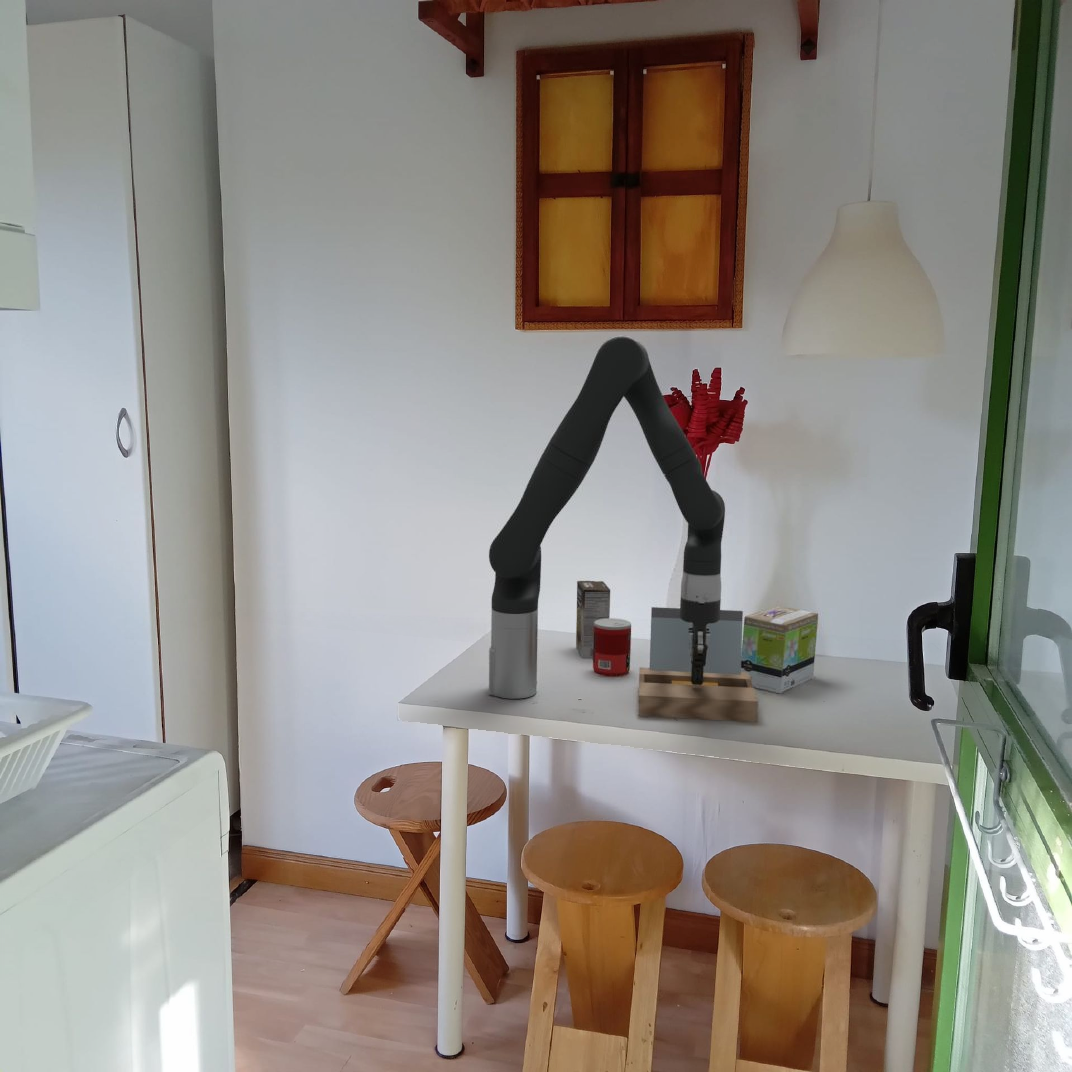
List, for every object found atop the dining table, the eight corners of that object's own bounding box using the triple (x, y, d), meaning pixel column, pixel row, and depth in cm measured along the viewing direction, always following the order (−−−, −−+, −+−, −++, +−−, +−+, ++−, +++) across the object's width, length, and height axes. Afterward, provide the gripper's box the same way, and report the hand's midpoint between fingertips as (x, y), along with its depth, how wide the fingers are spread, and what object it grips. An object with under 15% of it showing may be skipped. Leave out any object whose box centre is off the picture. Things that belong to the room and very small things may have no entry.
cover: (651, 607, 196) (651, 607, 196) (649, 670, 195) (649, 669, 196) (742, 611, 194) (742, 610, 194) (740, 674, 193) (740, 674, 194)
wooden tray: (638, 715, 183) (638, 695, 183) (638, 686, 201) (639, 667, 200) (757, 722, 181) (758, 701, 180) (747, 691, 199) (748, 672, 198)
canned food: (634, 676, 208) (636, 626, 206) (598, 678, 206) (600, 627, 204) (623, 665, 215) (624, 617, 213) (588, 667, 213) (589, 618, 212)
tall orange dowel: (671, 698, 193) (672, 684, 192) (671, 691, 196) (671, 678, 195) (717, 700, 192) (718, 686, 191) (716, 694, 195) (717, 680, 194)
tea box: (782, 695, 197) (786, 624, 195) (738, 684, 203) (741, 615, 201) (814, 678, 208) (819, 611, 206) (772, 669, 215) (775, 603, 212)
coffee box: (574, 647, 229) (576, 580, 226) (601, 647, 230) (603, 580, 227) (580, 658, 220) (582, 588, 217) (608, 658, 221) (611, 588, 218)
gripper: (679, 587, 191) (676, 672, 194) (681, 602, 178) (678, 693, 181) (718, 588, 190) (714, 674, 193) (723, 604, 177) (719, 695, 180)
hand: (696, 683), depth 187 cm, fingers closed
